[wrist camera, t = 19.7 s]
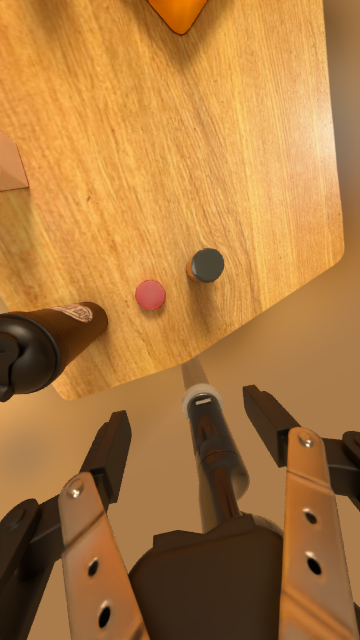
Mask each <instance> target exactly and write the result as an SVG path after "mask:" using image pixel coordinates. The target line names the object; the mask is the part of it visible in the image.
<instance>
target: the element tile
mask: <svg viewBox="0 0 360 640" xmlns="http://www.w3.org/2000/svg"><path fill="white" fill-rule="evenodd" d="M147 1H148V2H149V3H150V4H151V5H152V7H153V8H154V9H155V10H156V11H157V12H158V14H159V15H160V16H161V17H162V18H163V19H164V21H165V22H166V23H167V24H168V25H169V26H170V28H171V29H172V30H173V31H174V32H176V33H178V34H184V33H185V32H187V31H188V30H189V28H190V27H191V25H192V24H193V22H194V20H195V19H196V17H197V16H198V14H199V13H200V11H201V9H202V8H203V6H204V5H205V3H206V2H207V0H147Z"/></svg>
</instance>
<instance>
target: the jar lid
mask: <svg viewBox="0 0 360 640" xmlns="http://www.w3.org/2000/svg"><path fill="white" fill-rule="evenodd" d="M135 296H136V300H137V302H138V304H139V305H140V306H141V307H143V308H144V309H147V310H155V309H157V308H159V307H160V306H161V305H162V304H163V303H164V300H165V290H164V288H163V286H162V285H161V284H160V283H159V282H156V281H153V280H146V281H144V282H142V283H141V284H140V285H139V286H138V287H137V289H136V293H135Z"/></svg>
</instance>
